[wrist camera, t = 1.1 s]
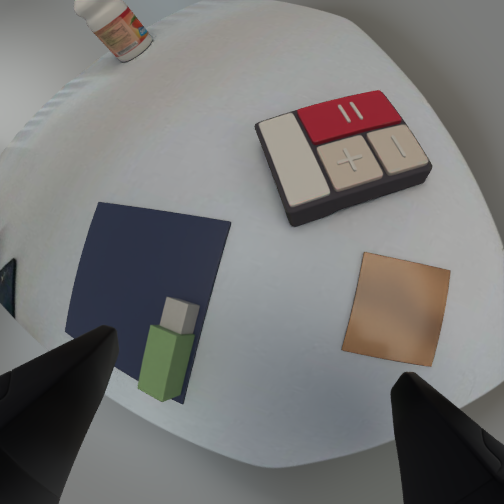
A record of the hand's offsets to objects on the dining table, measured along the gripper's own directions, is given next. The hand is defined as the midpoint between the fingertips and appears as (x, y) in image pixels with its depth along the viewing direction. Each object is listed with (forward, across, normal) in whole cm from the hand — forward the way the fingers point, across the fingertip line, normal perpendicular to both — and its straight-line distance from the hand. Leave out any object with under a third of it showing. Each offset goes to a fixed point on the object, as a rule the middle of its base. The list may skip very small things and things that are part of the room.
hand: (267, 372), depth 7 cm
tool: (+15, +6, +15) cm, 22 cm away
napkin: (+21, +14, +13) cm, 28 cm away
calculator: (+23, -7, -6) cm, 25 cm away
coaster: (+13, -13, +5) cm, 19 cm away
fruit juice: (+55, +35, -26) cm, 71 cm away
